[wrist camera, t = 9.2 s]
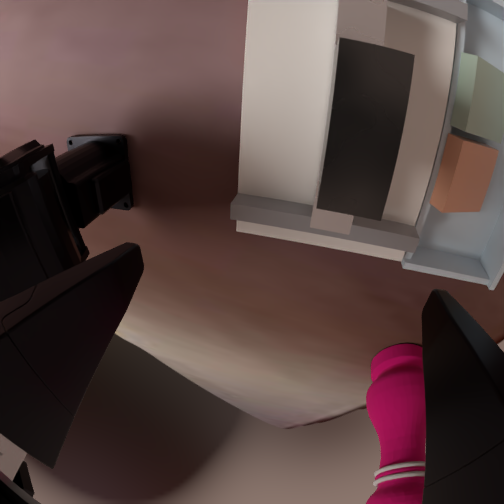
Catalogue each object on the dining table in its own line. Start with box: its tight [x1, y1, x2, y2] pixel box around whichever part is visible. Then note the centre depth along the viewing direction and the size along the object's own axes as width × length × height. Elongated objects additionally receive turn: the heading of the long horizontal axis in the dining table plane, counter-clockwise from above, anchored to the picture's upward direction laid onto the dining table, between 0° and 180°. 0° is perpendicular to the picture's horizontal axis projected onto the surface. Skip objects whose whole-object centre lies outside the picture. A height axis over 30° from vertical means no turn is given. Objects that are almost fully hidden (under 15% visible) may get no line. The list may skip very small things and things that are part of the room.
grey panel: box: [310, 0, 415, 235], centre depth 10 cm, size 2×12×8 cm, turn 177°
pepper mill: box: [366, 343, 426, 504], centre depth 20 cm, size 7×7×20 cm
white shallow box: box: [230, 0, 468, 261], centre depth 14 cm, size 11×18×4 cm, turn 176°
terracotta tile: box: [429, 133, 499, 213], centre depth 15 cm, size 4×4×1 cm
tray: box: [401, 0, 504, 290], centre depth 13 cm, size 8×19×4 cm, turn 176°
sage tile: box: [450, 52, 504, 144], centre depth 12 cm, size 4×4×1 cm
